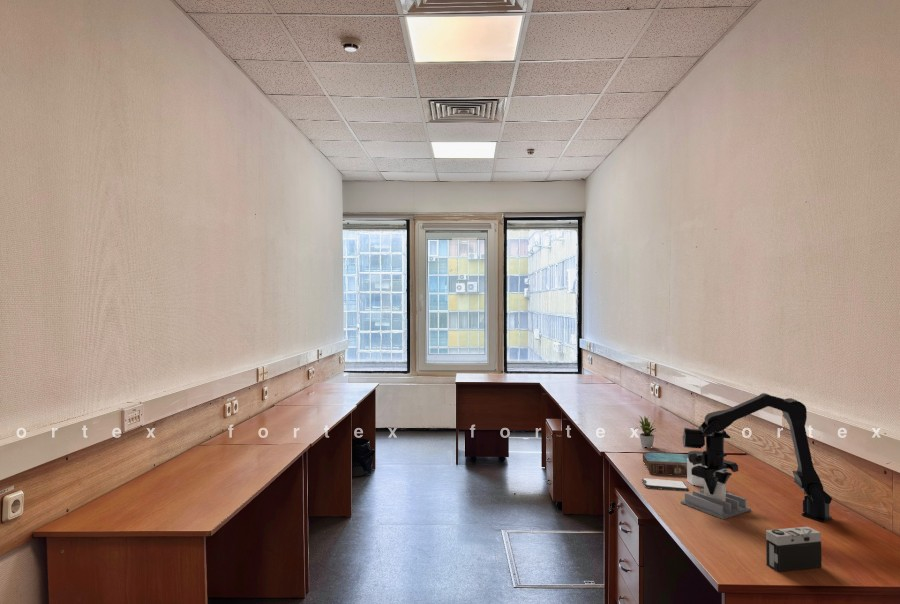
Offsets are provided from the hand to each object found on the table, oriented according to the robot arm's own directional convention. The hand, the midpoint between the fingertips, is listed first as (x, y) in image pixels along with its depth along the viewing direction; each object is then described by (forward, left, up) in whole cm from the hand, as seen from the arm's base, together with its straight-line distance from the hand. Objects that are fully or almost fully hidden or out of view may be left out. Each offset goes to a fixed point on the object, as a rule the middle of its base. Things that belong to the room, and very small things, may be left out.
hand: (715, 493), depth 179 cm
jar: (+18, -17, -5) cm, 25 cm away
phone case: (+23, -2, -5) cm, 24 cm away
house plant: (+66, -42, -5) cm, 78 cm away
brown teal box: (+35, -23, -6) cm, 43 cm away
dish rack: (0, 0, -5) cm, 5 cm away
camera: (-34, +19, -5) cm, 40 cm away
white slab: (0, 0, -4) cm, 4 cm away
